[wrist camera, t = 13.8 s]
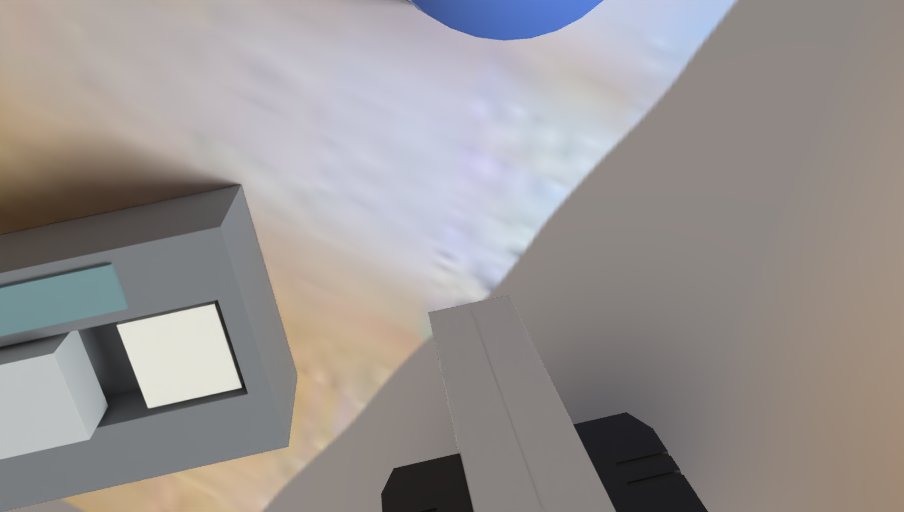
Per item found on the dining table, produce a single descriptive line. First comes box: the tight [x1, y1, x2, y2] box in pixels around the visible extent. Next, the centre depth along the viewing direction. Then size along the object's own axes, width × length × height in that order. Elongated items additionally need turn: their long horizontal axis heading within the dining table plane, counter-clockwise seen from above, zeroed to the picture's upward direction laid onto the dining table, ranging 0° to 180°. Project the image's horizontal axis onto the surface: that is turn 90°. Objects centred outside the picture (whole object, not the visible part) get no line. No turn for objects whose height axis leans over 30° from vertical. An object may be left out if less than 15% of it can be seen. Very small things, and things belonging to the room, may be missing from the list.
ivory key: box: [117, 300, 244, 408], centre depth 42 cm, size 5×5×3 cm
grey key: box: [0, 330, 108, 459], centre depth 39 cm, size 5×5×3 cm
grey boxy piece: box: [0, 185, 297, 512], centre depth 43 cm, size 23×13×8 cm, turn 100°
